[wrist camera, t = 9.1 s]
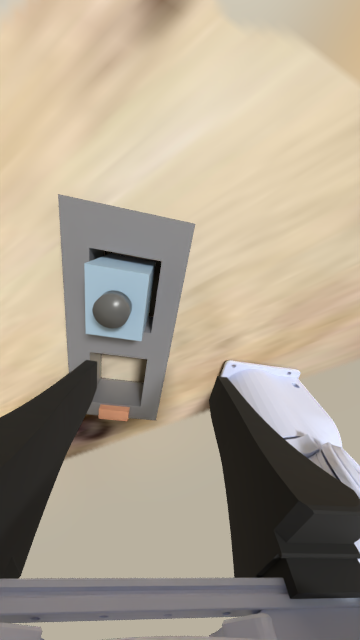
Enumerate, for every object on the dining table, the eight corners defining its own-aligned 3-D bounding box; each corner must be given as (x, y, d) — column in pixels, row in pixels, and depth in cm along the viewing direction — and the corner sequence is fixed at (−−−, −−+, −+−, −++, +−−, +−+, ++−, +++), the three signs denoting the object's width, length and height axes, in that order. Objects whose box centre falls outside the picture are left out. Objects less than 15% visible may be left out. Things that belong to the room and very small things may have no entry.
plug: (155, 261, 18) (147, 278, 11) (149, 310, 20) (139, 350, 13) (111, 252, 17) (75, 266, 11) (109, 304, 19) (78, 342, 13)
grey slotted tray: (190, 224, 17) (196, 223, 13) (157, 396, 25) (155, 425, 21) (81, 201, 16) (52, 192, 12) (84, 388, 24) (68, 417, 20)
